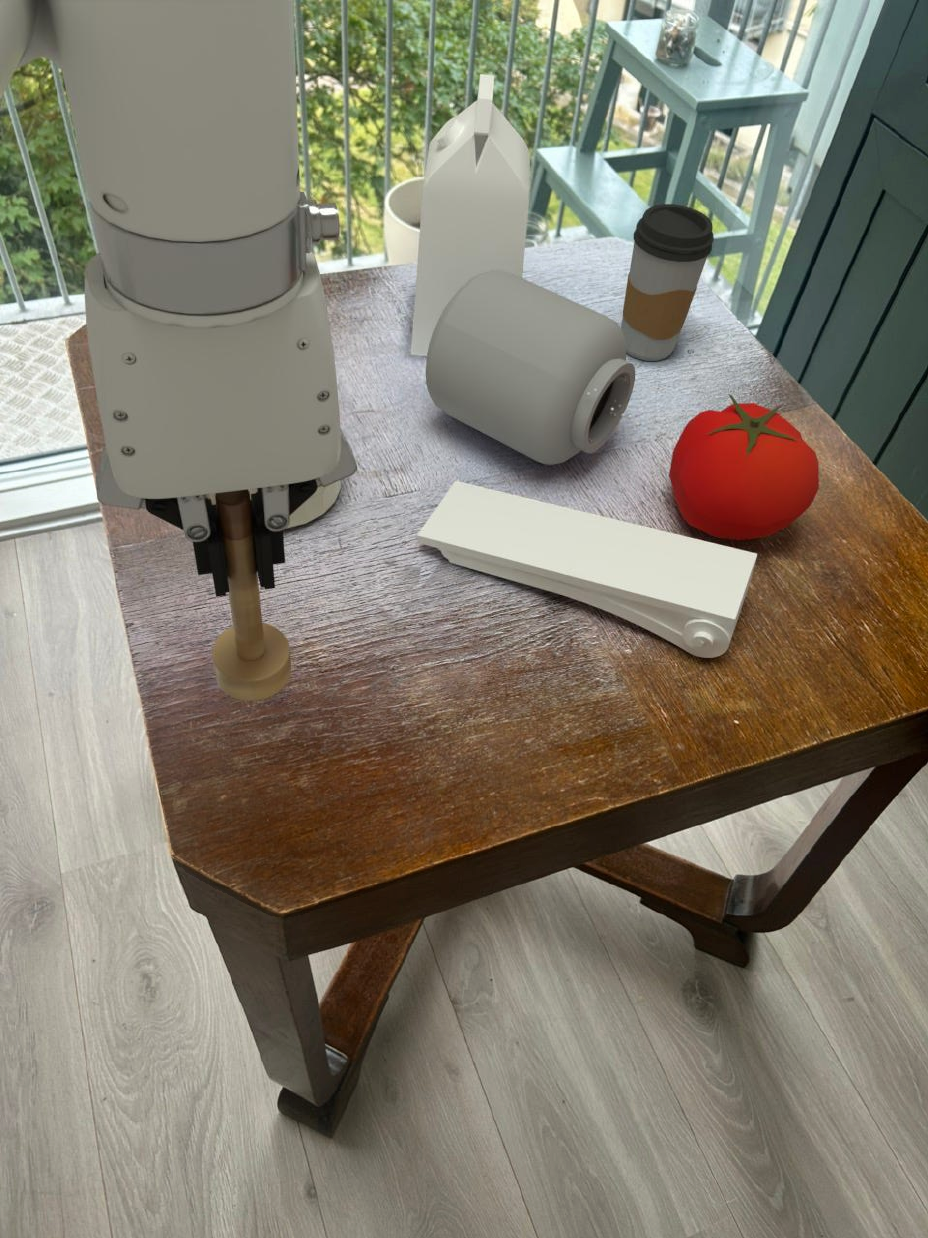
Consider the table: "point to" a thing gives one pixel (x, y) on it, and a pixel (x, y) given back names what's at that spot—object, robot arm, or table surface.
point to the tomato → (742, 472)
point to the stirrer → (246, 613)
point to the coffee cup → (663, 278)
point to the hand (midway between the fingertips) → (241, 571)
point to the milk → (469, 208)
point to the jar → (529, 368)
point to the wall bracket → (598, 563)
